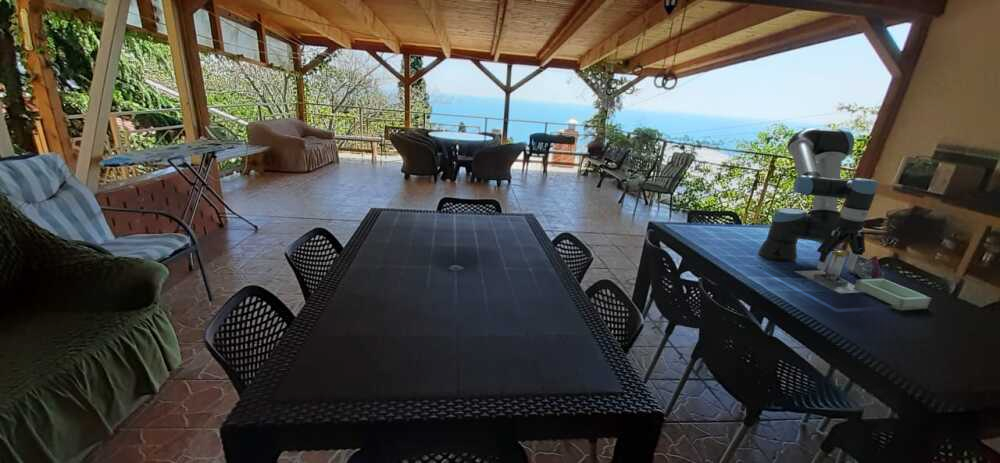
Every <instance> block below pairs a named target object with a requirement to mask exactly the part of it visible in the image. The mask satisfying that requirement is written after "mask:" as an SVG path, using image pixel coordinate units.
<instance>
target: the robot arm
mask: <svg viewBox="0 0 1000 463" xmlns="http://www.w3.org/2000/svg"><path fill="white" fill-rule="evenodd" d="M854 145H855V138H854V135H853V133H852V132H851V131H849V130H842V129H826V128H825V129H824V128H805V129H803V130H800V131H798V132H797V133H795V134H794V135H792V136H791V137H790V139H789V140H788V143H787V146H786V147H787V151H788V154H789V155H790V156H791V157H792V160H793V164H794V166H795V171H796V174H797V177H796V178H795V179H794V183H793V192H794V193H796V194H799V195H801V194H802V195H805V196H806V195H809V196H813V200H812V201H813V203H812V208H811V210H809V211H807V212H806V210H803V209H797V208H779V209H777V210H775V211H774V214H773V216H772V218H771V224H770V226H769V230H768V234H767V237H766V239H765V240H764V242H763V243H762V245H761V246H760V247H759V249H758V252H757V253H758V255H759V256H761V257H763V258H765V259H768V260H772V261H774V262H780V263H789V262H791V263H792V262H793V263H794V262H797V259H798V254H797V250H798V249H797V243H798V240H804V241H805V240H806V241H812V242H820V243H821V244H820V246H819V247H818V248H817V250H816V251H817V252H818V253H820V256H819V258H818V264H817V266H816V268H817V269H819V270H822V271H824V272H826V270H827V267H828V264H829V261H830V258H831V257H830V255H829V254H832V251H833V250H836V248H837V247H839V245H841V244H843V243H847V242H848V245H849V248H850V249H851V252H848V256H847V258H846V259H847V260H846V261H845V266H844V268H846V269H848V270H849V269H850V270H853V268H854V267H855V266H856V265H855V264H856V262H857V260H858V258H859V256H862V255H863V254H864V253H865V252H866V246H865V243H866V242H865V235H866V231H865V230H863V228H864V225H865V223H866V222H865V221H866V219H867V216H868V214H869V210H870V209H871V207H872V203H873V201H874V198H875V196H876V193H877V191H878V186H879V181H878V180H875V179H871V178H864V177H863V178H862V177H861V178H860V177H855V178H851V179H850V178H844V179H843V178H842V179H841V171H842V162H843V161H844V160H846V159H847V157H848V156H850V155H851V153H852V152H853V151H854V148H853V147H854ZM839 199H844V204H843V207H842V209H841V212H840V210H838V204H839V203H838V202H839V201H838V200H839ZM850 270H849V271H850Z"/></svg>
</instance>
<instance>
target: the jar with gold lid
mask: <svg viewBox="0 0 1000 463" xmlns="http://www.w3.org/2000/svg"><path fill="white" fill-rule="evenodd" d="M848 256H849V252H848V251H845V250H841V249H834V250H833V251H832V252H831V257H830V258H829V261H828V264H827V267H826V269H825V272H826V273H825V276H824V278H826V279H829V280H831V281H838V279H839V278H840V275H841V273H842V271H843V267H844V264H845V263H846V259H847V258H848Z"/></svg>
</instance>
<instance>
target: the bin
mask: <svg viewBox="0 0 1000 463" xmlns="http://www.w3.org/2000/svg"><path fill="white" fill-rule="evenodd" d="M854 285H855V286H854V288H856V289H859V290H861V291H863V292H862V293H865V294H867V295H870V296H871V297H875V298H876V299H878V300H880V301H883V302H885V303H887V304H888V307H890V308H892V309H894V310H897V311H908V310H926V309H928V306H929V304H930V302H931V300H932V297H930V296H927V295H925V294H922V293H920V292H918V291H916V290H913V289H910V288H908V287H906V286H903V285H900V284H897V283H895V282H894V281H893V282H892V281H890V280H887V279H885V278H884V279H856V281H855V284H854Z"/></svg>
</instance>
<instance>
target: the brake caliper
mask: <svg viewBox="0 0 1000 463" xmlns="http://www.w3.org/2000/svg"><path fill="white" fill-rule="evenodd" d="M848 270H849V271H850V272H851V274H852V275H855V276H856V277H859V278H860V280H862V279H885V272H884V271H883V270H882V271H881V270H880V264H879V258H878V256H877V255H874V256H872V257H871V258H869V259H867V260H865V261H863V262H862V263H860V262H859V263H856V265H854V268H853V270H850V269H848Z"/></svg>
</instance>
